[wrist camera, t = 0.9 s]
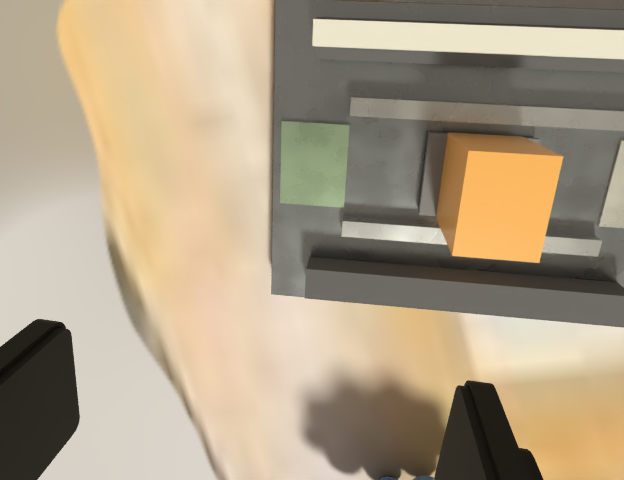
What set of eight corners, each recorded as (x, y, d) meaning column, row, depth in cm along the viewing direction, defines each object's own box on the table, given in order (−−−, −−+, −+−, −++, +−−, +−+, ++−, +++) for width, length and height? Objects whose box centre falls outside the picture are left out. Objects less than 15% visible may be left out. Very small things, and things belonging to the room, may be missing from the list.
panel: (722, 17, 26) (765, 12, 23) (630, 312, 32) (654, 336, 29) (281, 2, 28) (272, -5, 25) (276, 281, 34) (268, 301, 31)
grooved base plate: (690, 33, 24) (736, 29, 21) (609, 310, 30) (635, 338, 27) (320, 20, 26) (313, 14, 23) (308, 284, 32) (302, 307, 29)
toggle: (537, 136, 27) (587, 157, 21) (520, 221, 28) (561, 264, 22) (428, 129, 27) (445, 149, 21) (417, 213, 29) (430, 254, 23)
